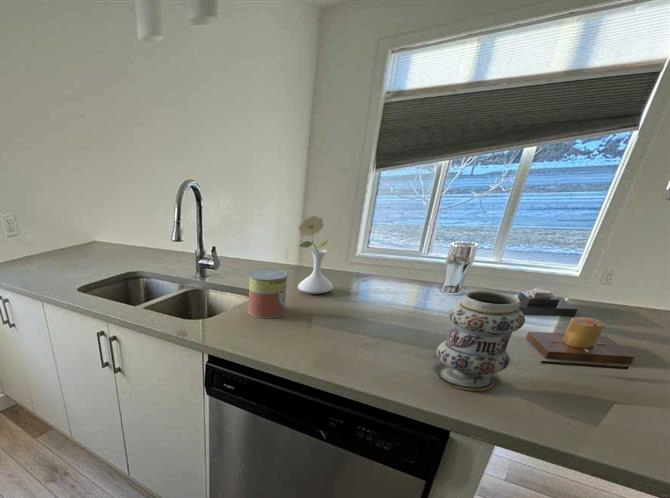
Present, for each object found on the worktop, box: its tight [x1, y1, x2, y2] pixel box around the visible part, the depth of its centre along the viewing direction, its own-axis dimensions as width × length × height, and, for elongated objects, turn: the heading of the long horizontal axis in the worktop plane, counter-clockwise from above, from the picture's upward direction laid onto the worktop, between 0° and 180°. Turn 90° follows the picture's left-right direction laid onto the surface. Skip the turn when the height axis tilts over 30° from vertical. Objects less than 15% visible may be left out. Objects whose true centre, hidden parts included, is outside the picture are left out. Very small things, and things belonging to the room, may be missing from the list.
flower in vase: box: [297, 215, 334, 295], centre depth 135 cm, size 13×11×25 cm
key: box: [528, 288, 553, 298], centre depth 111 cm, size 4×4×2 cm
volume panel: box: [525, 331, 636, 370], centre depth 89 cm, size 14×11×3 cm
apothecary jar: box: [435, 290, 526, 392], centre depth 81 cm, size 12×12×18 cm
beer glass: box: [439, 241, 479, 296], centre depth 126 cm, size 7×7×15 cm
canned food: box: [247, 268, 289, 319], centre depth 125 cm, size 11×11×12 cm
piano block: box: [514, 291, 578, 318], centre depth 112 cm, size 14×10×4 cm
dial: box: [562, 316, 606, 348], centre depth 87 cm, size 5×5×5 cm
